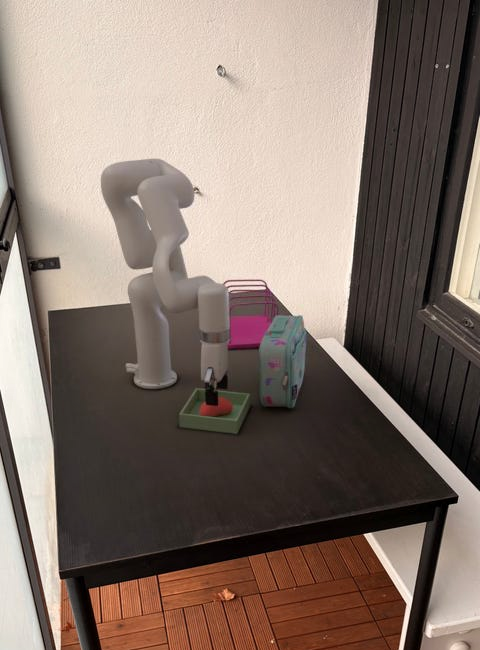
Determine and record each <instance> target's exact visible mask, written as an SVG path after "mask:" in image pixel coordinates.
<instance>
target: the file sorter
mask: <svg viewBox="0 0 480 650" xmlns="http://www.w3.org/2000/svg"><path fill="white" fill-rule="evenodd" d="M233 282H262V283H263V284H231V285H228V286H226V284H227V283H233ZM222 284H223V285H225V286H226V287H227V288H228V289H229V288H240V287H241V288H246V287H263V288H265V289H232V290H229V295H230V294H231V293H234V292H235V293H236V292H237V293H238V292H255V293H256V292H259V293H260V292H263V293H265V294H254V295H253V294H252V295H251V294H250V295H237V296H231V297H229V303H230V302H231V301H232V300H234V299H246V298H265V299H264V301H259V302H258V301H257V302H256V301H255V302H238V303H234V304H232V305H231V306H229V319H230V341H229V342H228V343H227V346H228V350H235V349H236V350H237V349H251V348H252V349H255V348H259V347H260V344H261V341H262V339H263V337H264V335H265V333H266V332H267V330H268V328H269V327H270V325H271V323H272V321H273V319H274V318H275V316H276V315H279V314H280V310H279V306H278V304H277V303H276V299H275V297H274V293H273V292H272V291H271V290H270V288H269V286H268V284H267V282H266V281H265V280H264V279H257V278H255V279H254V278H253V279H251V278H250V279H227V280H225V281H224V282H223V283H222ZM249 305H250V306H251V305H264V314H260V315H241V316H240V315H239V316H231V313H232V309H233V308H235V307H237V306H249ZM270 307H271V310H270Z"/></svg>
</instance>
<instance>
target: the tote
mask: <svg viewBox="0 0 480 650" xmlns="http://www.w3.org/2000/svg"><path fill="white" fill-rule="evenodd" d="M216 391H218V397H222V398H225V399H227V400H229V401H230V402H231V404H232V405H233V409H232V411H231V412H230V413H228V414H223V415H217V416H215V417H208V416H200V413H199V412H200V408H201V405H202V404H203V403H204V402H205V388H198V387H196V388H195V389H194V391H193V392H192V394H191V395H190V396H189V399H188V400H187V402H186V403H185V404H184V406H183V407H182V409H181V410H180V412H179V414H178V417H179V428H185V429H192V430H199V431H200V430H202V431H210V432H218V433H224V434H225V433H226V434H234V435H238V433H239V431H240V428H241V427H242V424H243V423H244V420H245V419H246V417H247V414H248V413H249V409H250V407H251V393H245V392H238V391H237V392H236V391H228V390H227V391H226V390H219V389H217V390H216Z"/></svg>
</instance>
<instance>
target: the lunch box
mask: <svg viewBox="0 0 480 650" xmlns="http://www.w3.org/2000/svg"><path fill="white" fill-rule="evenodd" d="M306 349H307V329H306V327H305V321H304V317H303V315H301V314H300V315H282V314H281V315H277V314H275V318H274V319H273V318H272V323H271V325H270V327H269V328H268V330H267V332H266V333H265V335H264V337H263V339H262V341H261V344H260V347H258V378H259V380H258V381H259V397H260V402H261V405H262V406H263V407H264V408H267V407H268V408H269V407H270V408H275V407H276V408H278V407H279V408H281V407H282V408H288V409H292V408H294V407H295V405H296V402H297V399H298V396H299V393H300V390H301V387H302V385H303V381H304V374H305V367H306V366H305V364H306Z"/></svg>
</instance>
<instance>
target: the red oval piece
mask: <svg viewBox="0 0 480 650" xmlns="http://www.w3.org/2000/svg"><path fill="white" fill-rule="evenodd" d="M232 409H233V405H232V404H231V402H230V401H229V400H227V399H225V398H222V397H218V406H211V405H206V401H205V402H204V403H203V404H202V405H201V408H200V412H199V413H200V416H208V417H215V416H217V415H223V414H228V413H230V412H231V411H232Z"/></svg>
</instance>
